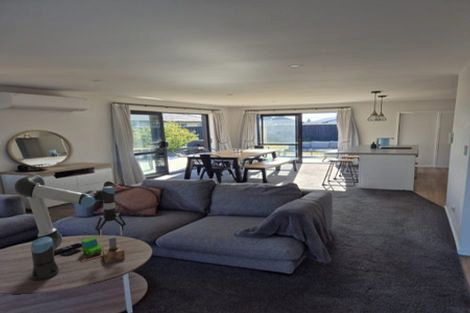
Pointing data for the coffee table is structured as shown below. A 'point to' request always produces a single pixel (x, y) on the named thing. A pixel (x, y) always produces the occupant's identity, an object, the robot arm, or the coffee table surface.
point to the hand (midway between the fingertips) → (111, 236)
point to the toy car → (90, 246)
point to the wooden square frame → (113, 254)
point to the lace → (91, 258)
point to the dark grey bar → (112, 243)
